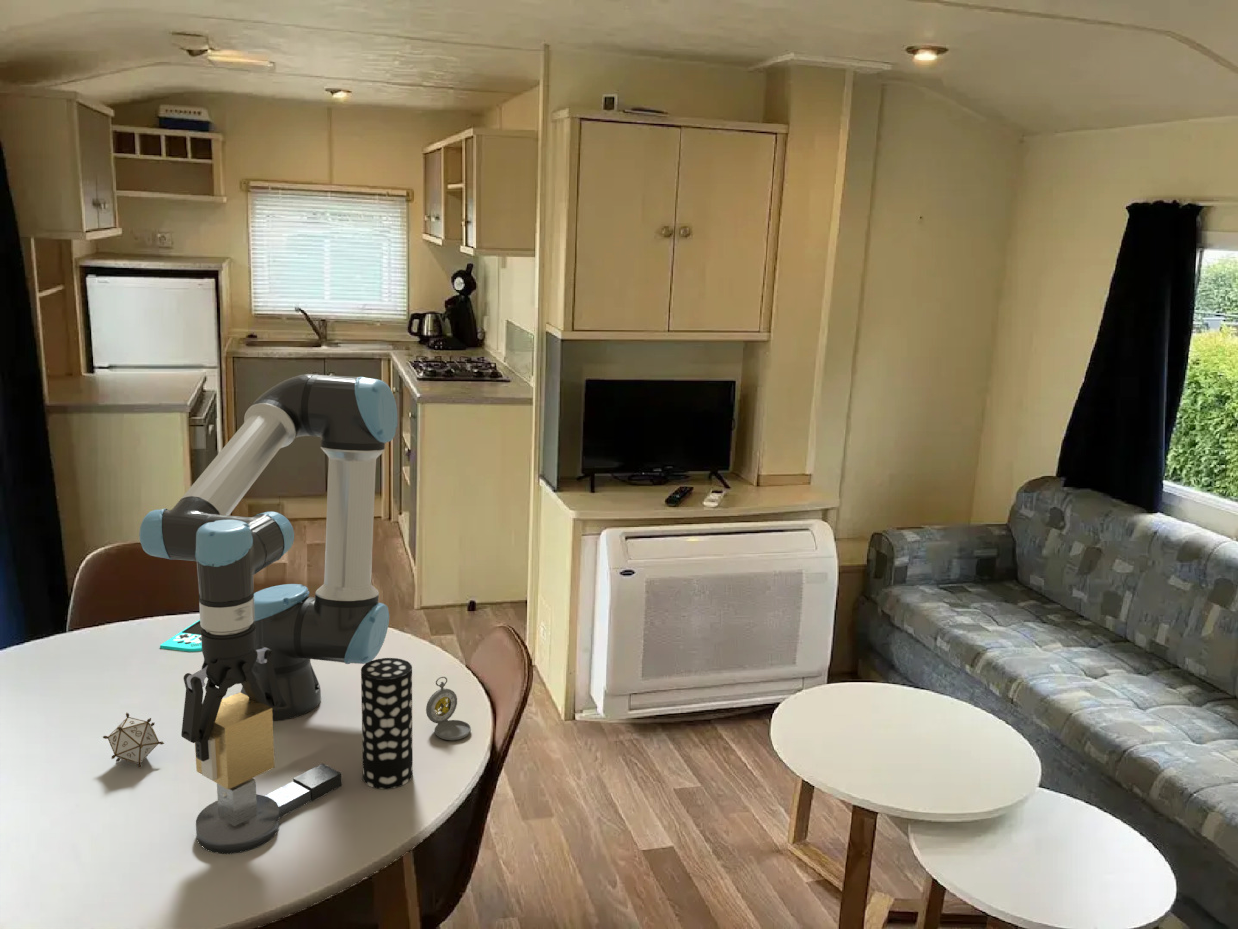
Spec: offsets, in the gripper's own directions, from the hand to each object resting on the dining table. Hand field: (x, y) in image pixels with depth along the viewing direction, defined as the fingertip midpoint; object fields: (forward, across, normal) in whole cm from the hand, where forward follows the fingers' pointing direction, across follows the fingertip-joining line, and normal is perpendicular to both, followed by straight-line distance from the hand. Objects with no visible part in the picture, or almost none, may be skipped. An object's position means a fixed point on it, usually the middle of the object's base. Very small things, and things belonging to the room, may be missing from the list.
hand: (235, 764), depth 151 cm
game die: (+11, +1, +31) cm, 33 cm away
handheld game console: (+12, +38, +70) cm, 81 cm away
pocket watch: (+11, +43, -3) cm, 45 cm away
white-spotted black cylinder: (+11, +25, -6) cm, 28 cm away
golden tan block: (+1, 0, 0) cm, 1 cm away
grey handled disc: (+11, +6, 0) cm, 13 cm away
